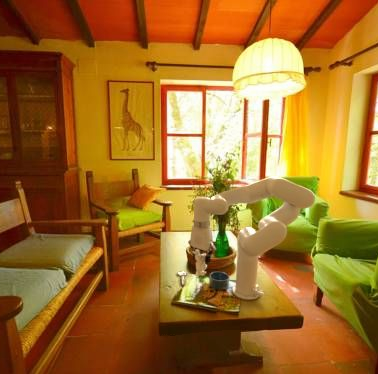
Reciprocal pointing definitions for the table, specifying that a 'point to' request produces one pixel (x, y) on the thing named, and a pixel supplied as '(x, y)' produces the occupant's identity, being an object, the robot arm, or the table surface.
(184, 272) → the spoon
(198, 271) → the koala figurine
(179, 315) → the table surface
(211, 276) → the bowl
